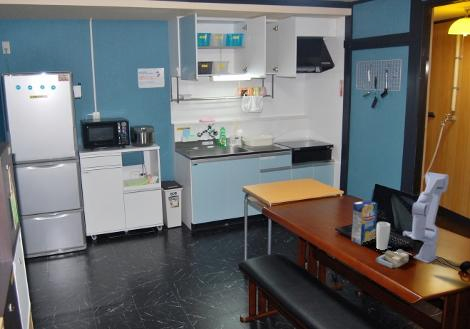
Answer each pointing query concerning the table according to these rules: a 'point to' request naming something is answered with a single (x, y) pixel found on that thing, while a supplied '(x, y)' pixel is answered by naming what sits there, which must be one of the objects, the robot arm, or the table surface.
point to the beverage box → (364, 221)
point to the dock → (382, 261)
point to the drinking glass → (382, 235)
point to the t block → (396, 258)
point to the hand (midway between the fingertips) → (416, 253)
